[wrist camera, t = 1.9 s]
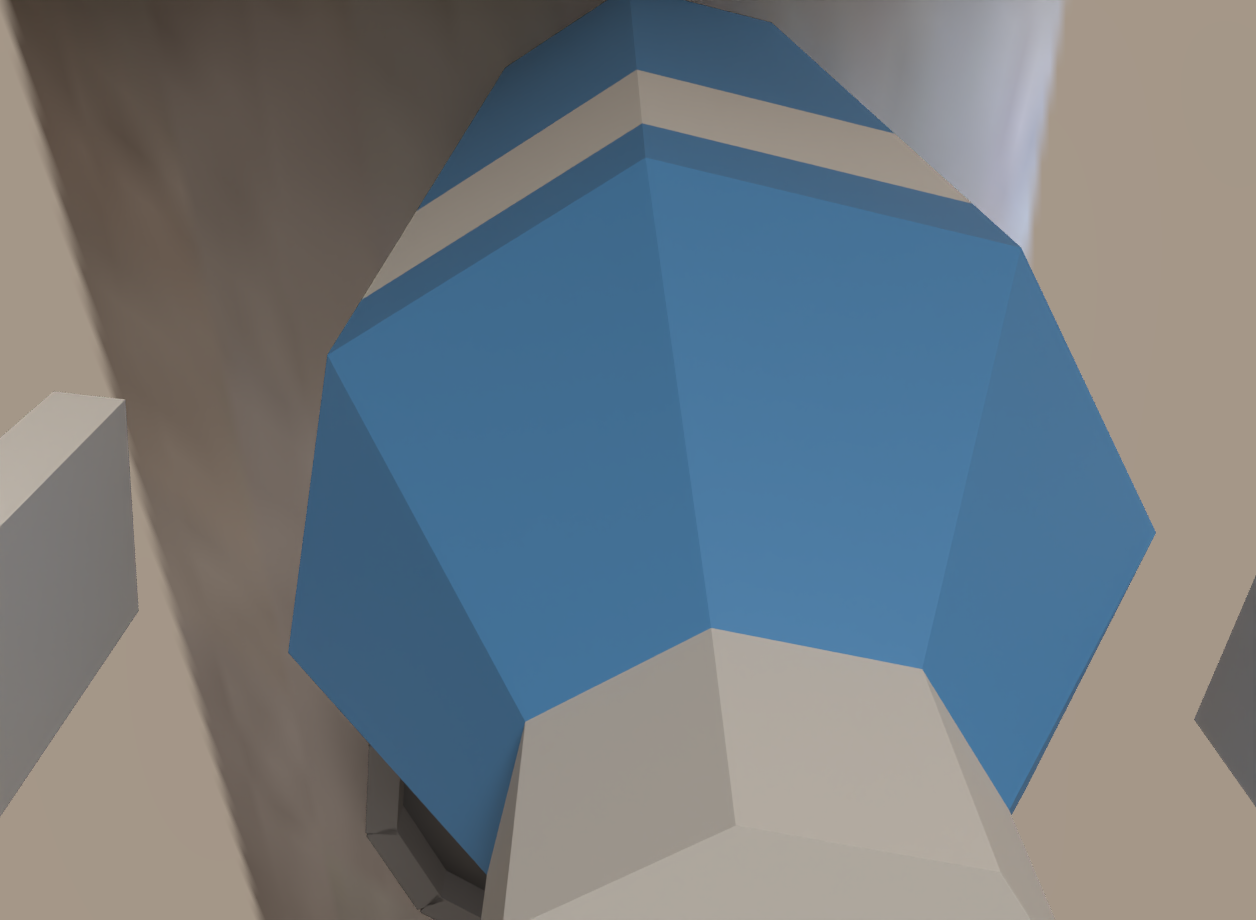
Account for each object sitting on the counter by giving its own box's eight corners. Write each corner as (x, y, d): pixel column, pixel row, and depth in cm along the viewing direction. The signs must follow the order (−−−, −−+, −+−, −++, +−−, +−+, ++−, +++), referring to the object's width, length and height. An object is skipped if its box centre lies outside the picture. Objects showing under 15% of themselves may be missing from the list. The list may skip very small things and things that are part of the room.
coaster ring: (384, 577, 35) (374, 607, 34) (836, 625, 36) (845, 656, 35) (369, 908, 41) (360, 945, 40) (756, 942, 42) (761, 979, 41)
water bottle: (515, 372, 32) (278, 1488, 10) (438, 18, 28) (-276, 549, 6) (851, 321, 32) (1419, 1385, 9) (823, -48, 27) (1727, 252, 5)
